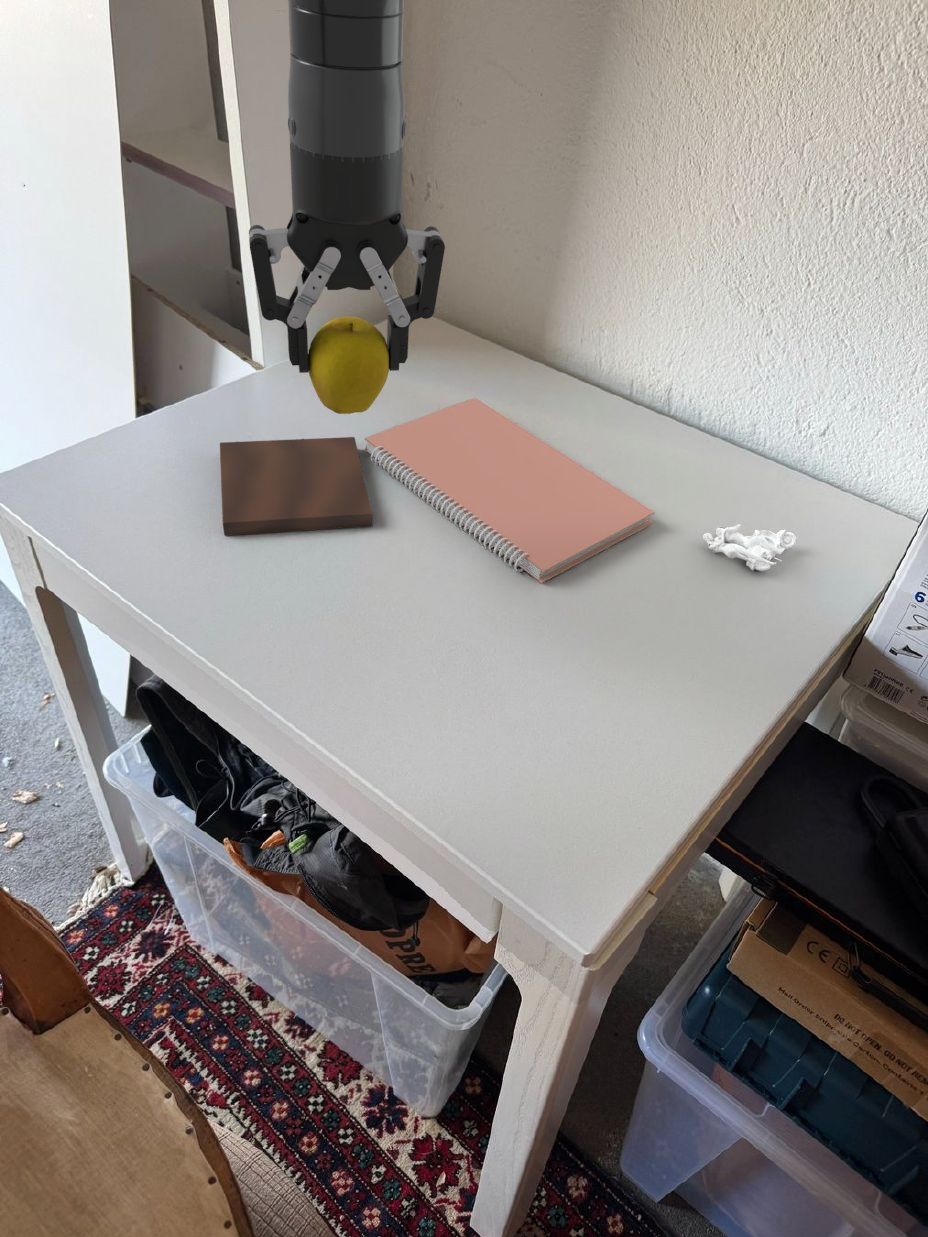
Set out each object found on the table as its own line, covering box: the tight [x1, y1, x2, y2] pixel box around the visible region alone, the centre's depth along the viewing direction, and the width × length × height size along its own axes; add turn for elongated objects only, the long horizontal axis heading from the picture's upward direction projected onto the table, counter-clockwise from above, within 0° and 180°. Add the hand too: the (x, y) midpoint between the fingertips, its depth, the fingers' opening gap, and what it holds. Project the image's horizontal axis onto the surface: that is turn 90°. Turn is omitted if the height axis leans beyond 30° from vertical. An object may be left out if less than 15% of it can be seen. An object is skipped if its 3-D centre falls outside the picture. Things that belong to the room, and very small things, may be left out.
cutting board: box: [219, 436, 374, 536], centre depth 93 cm, size 14×14×2 cm
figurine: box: [702, 523, 797, 572], centre depth 91 cm, size 3×8×8 cm
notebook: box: [364, 397, 656, 584], centre depth 96 cm, size 27×17×2 cm, turn 41°
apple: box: [308, 316, 390, 415], centre depth 72 cm, size 6×6×8 cm
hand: (348, 366), depth 72 cm, fingers closed on apple, 6 cm apart
